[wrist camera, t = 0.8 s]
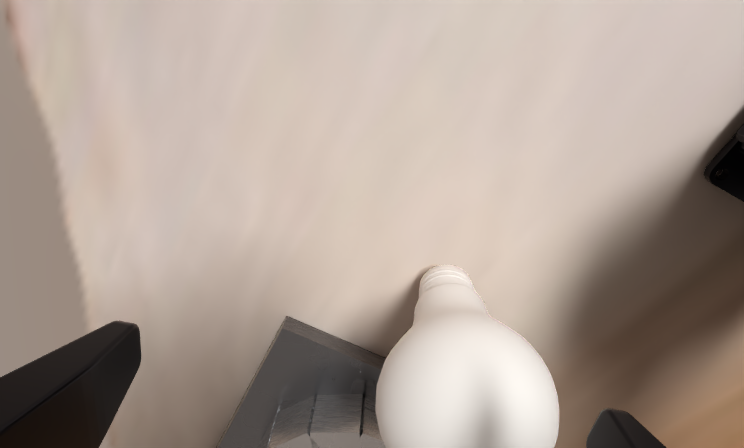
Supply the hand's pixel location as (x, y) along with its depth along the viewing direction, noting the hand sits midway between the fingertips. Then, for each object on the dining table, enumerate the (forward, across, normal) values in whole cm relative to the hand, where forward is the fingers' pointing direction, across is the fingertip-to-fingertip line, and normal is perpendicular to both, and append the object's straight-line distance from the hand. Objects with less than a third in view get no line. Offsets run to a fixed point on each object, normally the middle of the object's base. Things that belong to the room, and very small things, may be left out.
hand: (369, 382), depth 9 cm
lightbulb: (+13, -4, +6) cm, 15 cm away
